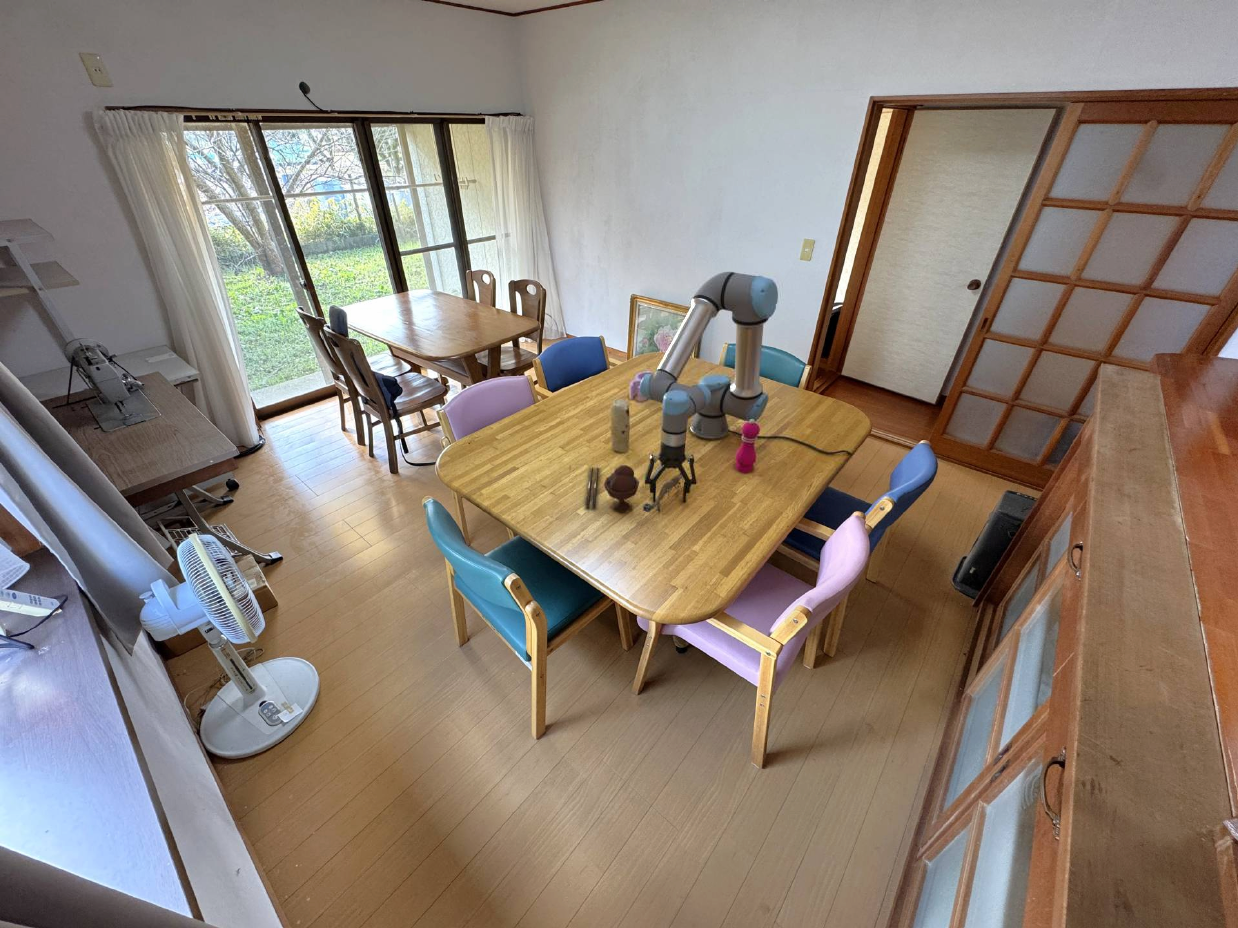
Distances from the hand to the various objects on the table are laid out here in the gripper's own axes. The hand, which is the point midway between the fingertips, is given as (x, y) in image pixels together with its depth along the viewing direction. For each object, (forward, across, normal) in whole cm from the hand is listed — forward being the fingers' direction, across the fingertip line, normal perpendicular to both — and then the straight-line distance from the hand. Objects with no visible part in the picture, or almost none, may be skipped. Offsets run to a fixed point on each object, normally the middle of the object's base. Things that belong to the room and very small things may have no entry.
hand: (669, 500), depth 157 cm
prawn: (0, 0, 0) cm, 1 cm away
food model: (+1, +16, -33) cm, 37 cm away
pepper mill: (+1, -28, -20) cm, 35 cm away
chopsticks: (+1, +26, -7) cm, 26 cm away
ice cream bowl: (+1, +16, +3) cm, 16 cm away
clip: (+1, +6, -83) cm, 83 cm away
